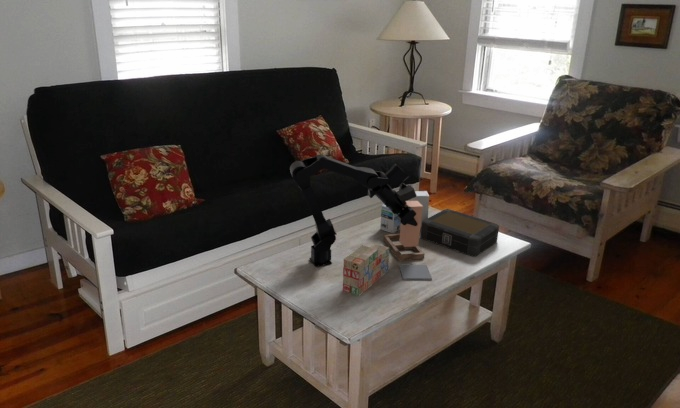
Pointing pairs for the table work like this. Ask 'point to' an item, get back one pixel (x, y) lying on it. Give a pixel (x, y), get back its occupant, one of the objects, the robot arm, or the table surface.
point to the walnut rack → (397, 247)
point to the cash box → (460, 232)
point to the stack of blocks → (364, 268)
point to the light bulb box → (389, 220)
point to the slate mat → (415, 272)
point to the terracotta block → (411, 226)
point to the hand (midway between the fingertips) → (413, 222)
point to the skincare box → (422, 203)
